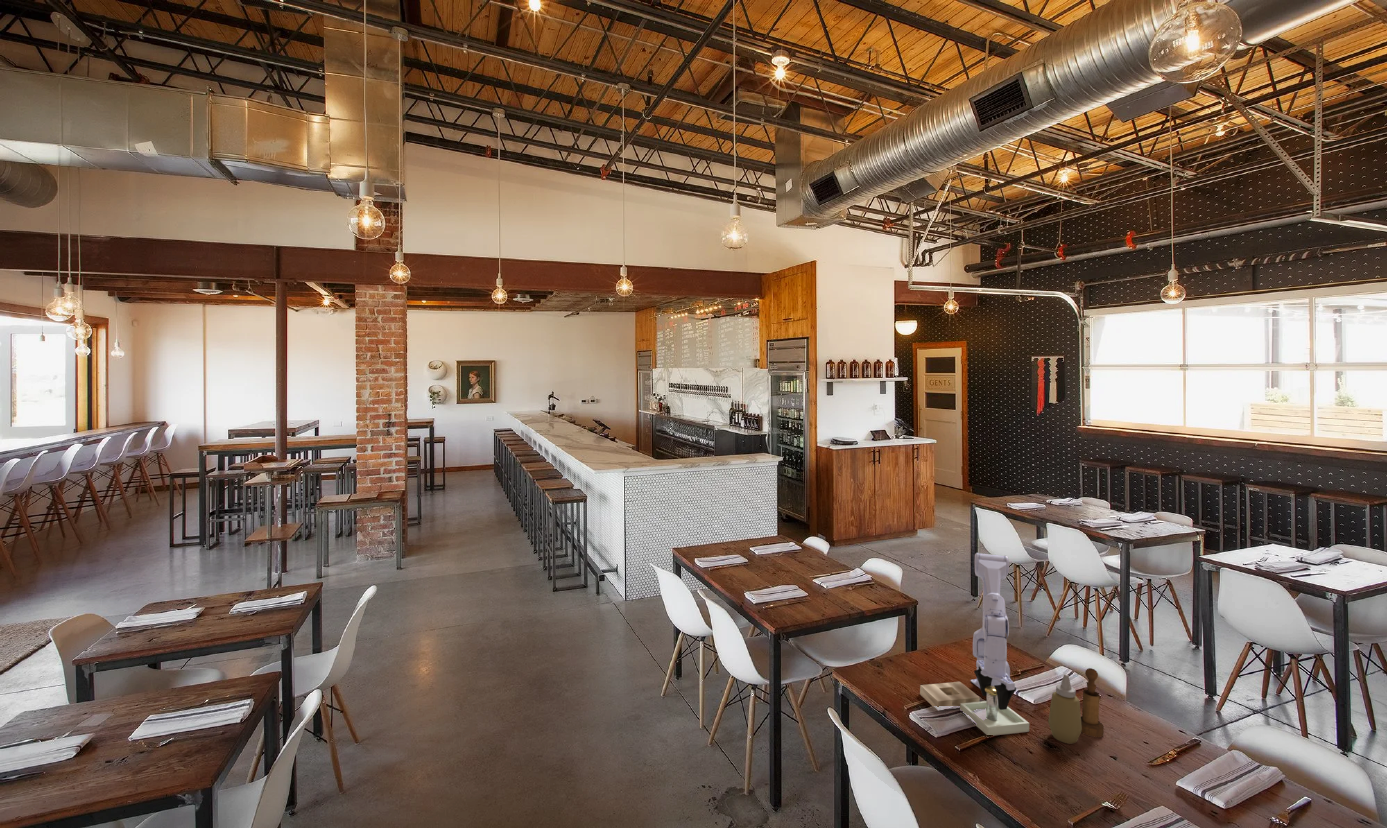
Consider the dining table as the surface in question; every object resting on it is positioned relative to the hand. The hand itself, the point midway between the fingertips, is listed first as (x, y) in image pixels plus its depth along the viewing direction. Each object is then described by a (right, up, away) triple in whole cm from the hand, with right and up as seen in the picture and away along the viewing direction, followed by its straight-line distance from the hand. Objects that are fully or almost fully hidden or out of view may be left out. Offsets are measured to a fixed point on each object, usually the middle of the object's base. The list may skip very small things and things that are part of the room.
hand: (994, 702), depth 177 cm
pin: (0, -5, +1) cm, 5 cm away
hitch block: (-8, -5, +12) cm, 15 cm away
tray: (0, -6, 0) cm, 6 cm away
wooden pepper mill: (+25, -6, -5) cm, 26 cm away
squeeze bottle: (+16, -6, -8) cm, 19 cm away
